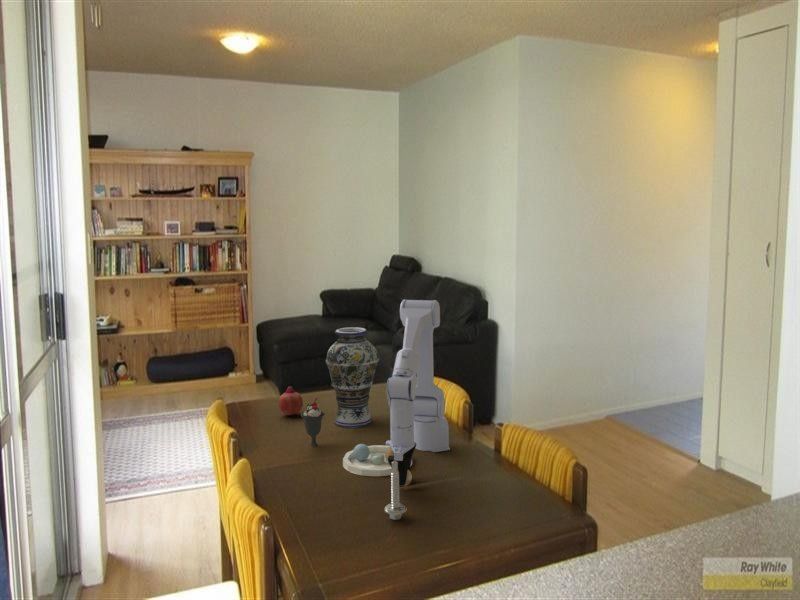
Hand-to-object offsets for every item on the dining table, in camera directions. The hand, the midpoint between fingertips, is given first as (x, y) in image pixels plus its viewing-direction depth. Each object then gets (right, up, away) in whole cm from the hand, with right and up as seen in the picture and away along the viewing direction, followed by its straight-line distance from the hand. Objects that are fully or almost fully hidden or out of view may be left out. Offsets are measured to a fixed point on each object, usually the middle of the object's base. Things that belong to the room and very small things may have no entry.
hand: (402, 478), depth 162 cm
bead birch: (0, -2, 0) cm, 2 cm away
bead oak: (-2, +1, +13) cm, 13 cm away
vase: (-15, +4, +51) cm, 53 cm away
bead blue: (-11, +1, +15) cm, 19 cm away
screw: (-2, -4, -17) cm, 17 cm away
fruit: (-37, +5, +58) cm, 69 cm away
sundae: (-25, +1, +28) cm, 37 cm away
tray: (-7, 0, +14) cm, 15 cm away
